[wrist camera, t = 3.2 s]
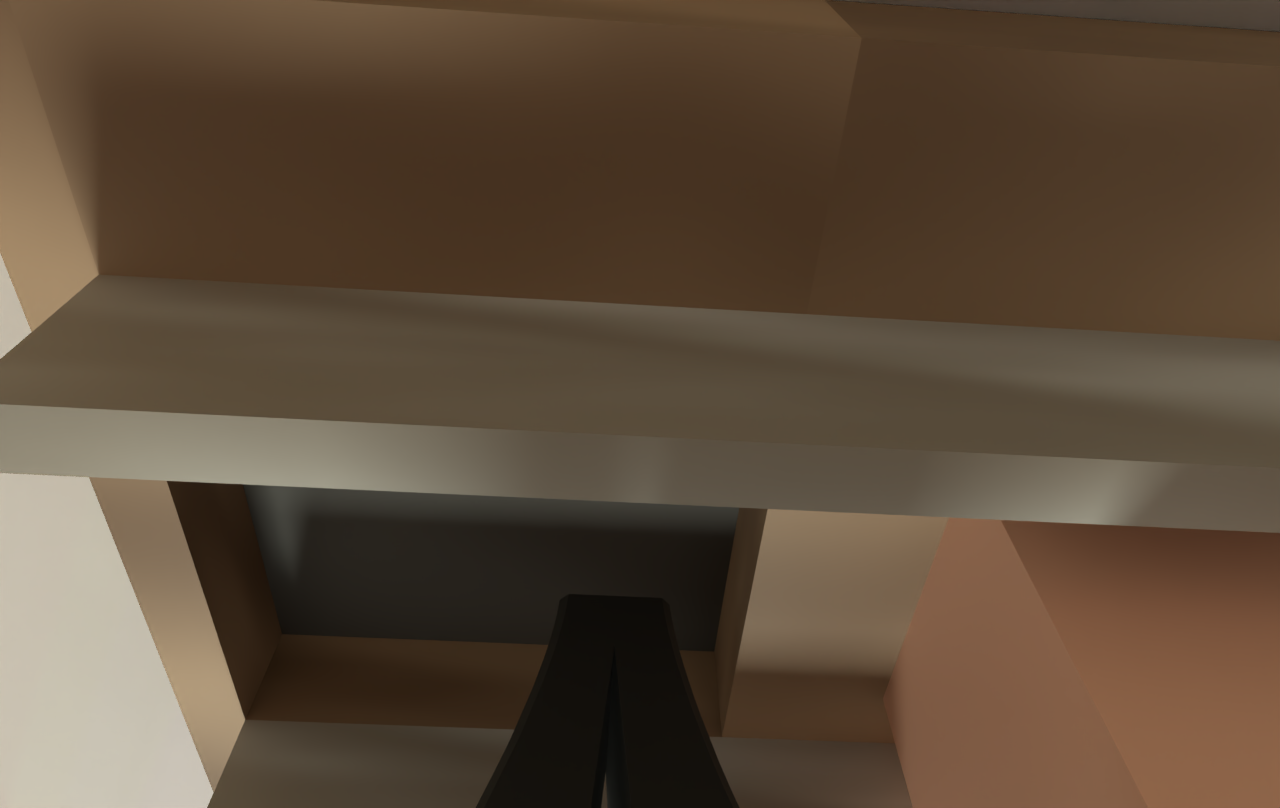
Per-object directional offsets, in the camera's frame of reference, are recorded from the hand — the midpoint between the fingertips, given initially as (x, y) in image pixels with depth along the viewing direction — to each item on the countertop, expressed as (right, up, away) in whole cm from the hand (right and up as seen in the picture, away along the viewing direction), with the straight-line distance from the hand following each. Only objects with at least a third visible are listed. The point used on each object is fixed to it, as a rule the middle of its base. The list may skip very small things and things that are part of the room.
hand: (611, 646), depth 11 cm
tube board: (+8, +1, +3) cm, 9 cm away
